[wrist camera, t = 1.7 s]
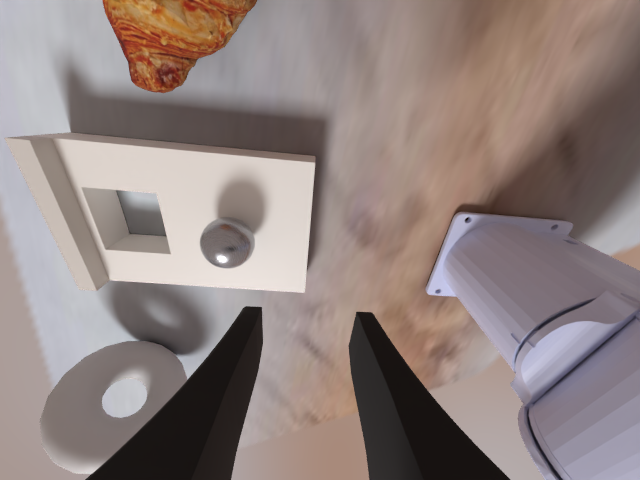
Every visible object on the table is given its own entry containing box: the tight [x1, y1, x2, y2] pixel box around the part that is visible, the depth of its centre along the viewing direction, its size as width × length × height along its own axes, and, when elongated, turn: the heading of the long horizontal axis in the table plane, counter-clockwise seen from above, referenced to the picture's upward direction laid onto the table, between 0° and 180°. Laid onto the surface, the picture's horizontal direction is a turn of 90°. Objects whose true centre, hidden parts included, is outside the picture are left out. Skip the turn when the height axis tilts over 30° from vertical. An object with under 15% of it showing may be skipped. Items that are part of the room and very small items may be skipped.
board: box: [5, 132, 315, 293], centre depth 17 cm, size 16×10×4 cm, turn 85°
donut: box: [40, 341, 187, 474], centre depth 21 cm, size 10×3×10 cm, turn 51°
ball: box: [200, 217, 255, 269], centre depth 15 cm, size 3×3×3 cm
